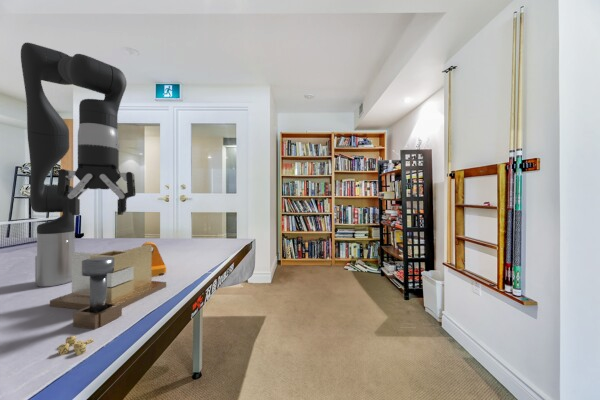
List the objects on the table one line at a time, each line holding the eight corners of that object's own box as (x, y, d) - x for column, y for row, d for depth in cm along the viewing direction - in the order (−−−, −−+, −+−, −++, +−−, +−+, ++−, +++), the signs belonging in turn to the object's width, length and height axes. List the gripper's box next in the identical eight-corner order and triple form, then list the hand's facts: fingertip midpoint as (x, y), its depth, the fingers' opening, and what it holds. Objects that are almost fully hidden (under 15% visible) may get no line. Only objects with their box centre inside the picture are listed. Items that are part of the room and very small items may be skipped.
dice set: (82, 358, 46) (82, 347, 46) (50, 361, 45) (50, 350, 45) (98, 342, 51) (98, 333, 51) (69, 345, 50) (69, 335, 50)
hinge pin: (74, 325, 56) (74, 262, 56) (100, 313, 62) (100, 256, 62) (96, 328, 55) (96, 263, 55) (120, 316, 61) (120, 257, 61)
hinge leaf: (133, 292, 71) (133, 252, 71) (111, 301, 65) (111, 258, 64) (86, 287, 74) (86, 249, 74) (60, 296, 68) (60, 255, 68)
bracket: (132, 280, 88) (132, 246, 88) (132, 274, 94) (131, 243, 94) (166, 274, 94) (166, 243, 94) (164, 270, 100) (164, 240, 100)
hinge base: (13, 318, 59) (13, 261, 59) (115, 282, 85) (115, 242, 85) (96, 329, 55) (96, 267, 55) (176, 287, 81) (176, 245, 80)
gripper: (50, 140, 52) (50, 216, 52) (131, 146, 58) (131, 215, 58) (67, 146, 59) (67, 214, 59) (137, 151, 65) (137, 213, 65)
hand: (98, 214), depth 58 cm, fingers open, 8 cm apart
